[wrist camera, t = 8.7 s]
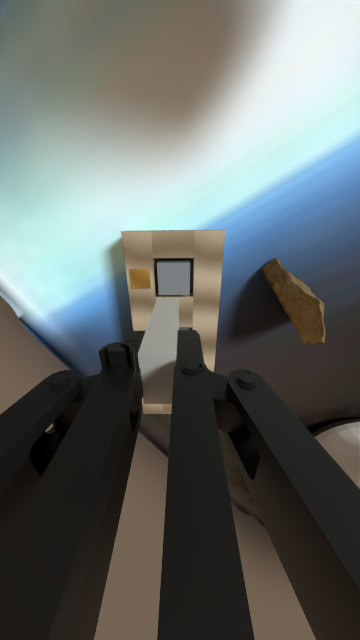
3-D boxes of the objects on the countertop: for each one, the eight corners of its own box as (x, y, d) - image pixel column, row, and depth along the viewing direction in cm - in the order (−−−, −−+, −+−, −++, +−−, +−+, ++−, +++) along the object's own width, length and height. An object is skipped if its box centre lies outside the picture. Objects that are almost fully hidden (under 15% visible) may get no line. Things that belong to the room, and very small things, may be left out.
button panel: (129, 230, 26) (120, 231, 23) (219, 230, 26) (225, 230, 22) (147, 396, 39) (143, 414, 35) (207, 396, 39) (210, 414, 35)
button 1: (159, 258, 27) (156, 263, 24) (189, 258, 27) (190, 262, 24) (161, 287, 28) (158, 295, 25) (188, 287, 28) (189, 294, 25)
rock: (244, 267, 26) (254, 335, 29) (317, 257, 19) (321, 349, 22) (287, 252, 31) (292, 311, 34) (357, 239, 24) (356, 315, 27)
